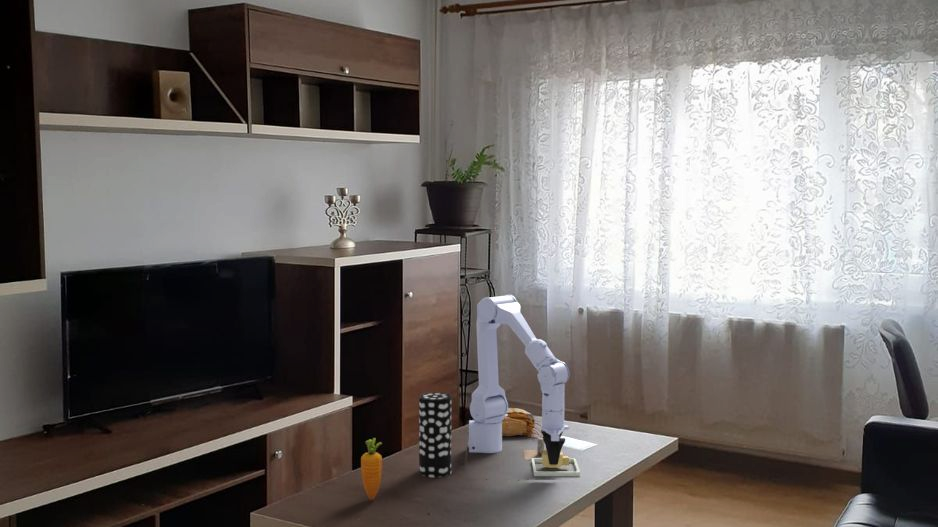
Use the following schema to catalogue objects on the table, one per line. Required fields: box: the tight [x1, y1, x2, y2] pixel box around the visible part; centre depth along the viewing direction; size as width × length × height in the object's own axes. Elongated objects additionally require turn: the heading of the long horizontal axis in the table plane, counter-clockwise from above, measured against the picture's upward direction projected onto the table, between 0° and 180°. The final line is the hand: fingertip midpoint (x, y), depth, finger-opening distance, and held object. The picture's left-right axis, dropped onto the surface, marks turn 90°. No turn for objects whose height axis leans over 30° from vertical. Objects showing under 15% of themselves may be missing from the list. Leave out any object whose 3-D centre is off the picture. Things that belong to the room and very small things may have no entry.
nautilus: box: [502, 407, 543, 440], centre depth 272 cm, size 8×22×15 cm
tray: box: [531, 457, 581, 477], centre depth 241 cm, size 12×12×2 cm
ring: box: [541, 449, 570, 469], centre depth 240 cm, size 5×7×3 cm
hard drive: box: [560, 435, 599, 452], centre depth 263 cm, size 2×8×12 cm
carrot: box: [360, 437, 383, 501], centre depth 219 cm, size 5×5×15 cm
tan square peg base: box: [522, 437, 546, 461], centre depth 252 cm, size 9×9×5 cm
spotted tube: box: [418, 392, 453, 478], centre depth 239 cm, size 8×8×20 cm
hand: (552, 460), depth 240 cm, fingers closed on ring, 5 cm apart
